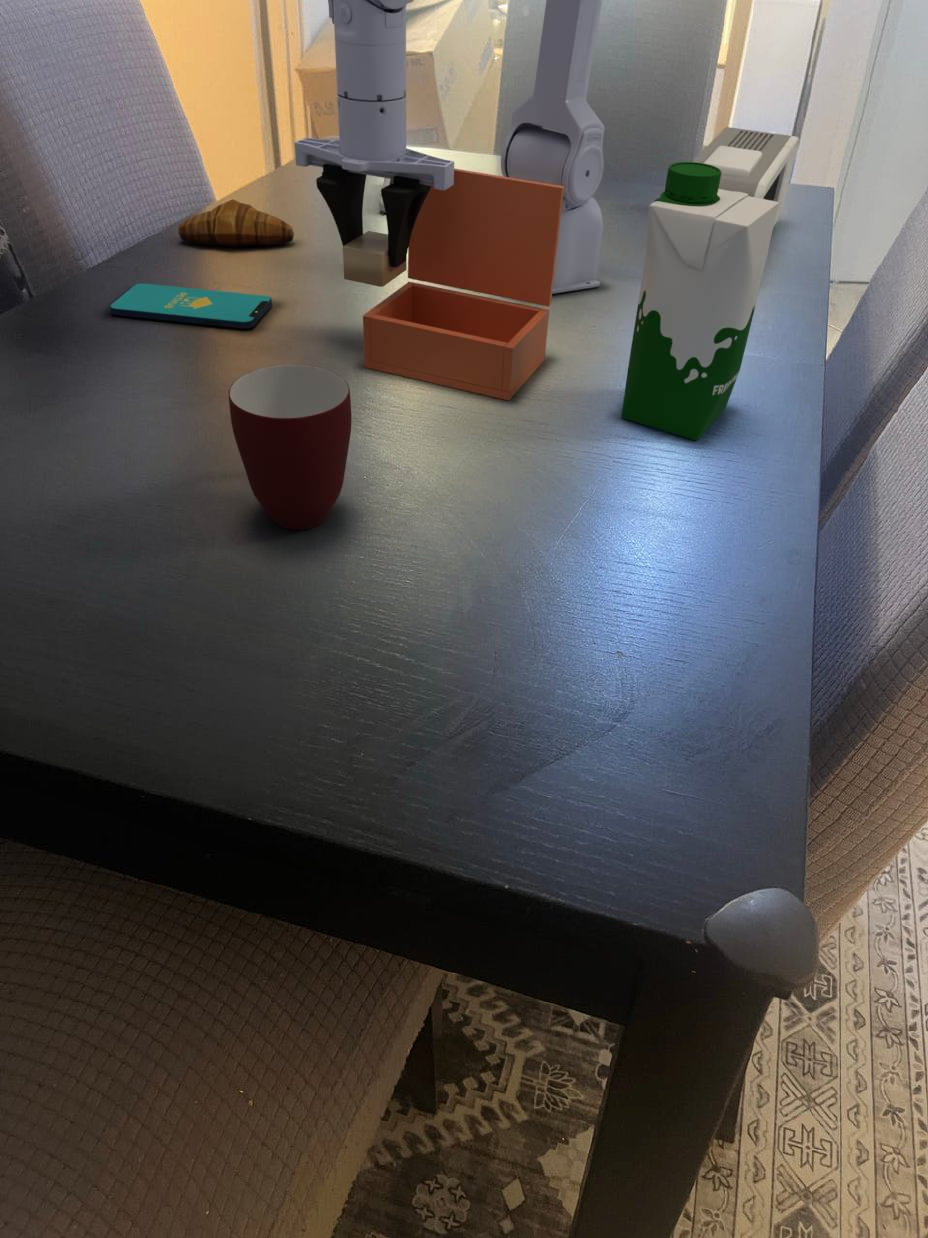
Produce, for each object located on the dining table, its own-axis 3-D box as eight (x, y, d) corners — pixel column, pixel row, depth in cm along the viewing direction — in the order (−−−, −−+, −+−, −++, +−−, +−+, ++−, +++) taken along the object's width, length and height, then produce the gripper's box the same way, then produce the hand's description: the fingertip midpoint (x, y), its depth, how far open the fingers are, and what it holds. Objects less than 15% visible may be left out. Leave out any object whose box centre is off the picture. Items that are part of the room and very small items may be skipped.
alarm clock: (741, 290, 108) (766, 179, 101) (661, 275, 111) (680, 165, 103) (779, 223, 128) (802, 125, 120) (710, 211, 130) (729, 116, 123)
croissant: (296, 234, 117) (293, 191, 114) (292, 253, 112) (289, 209, 108) (184, 232, 116) (178, 189, 113) (175, 251, 111) (168, 206, 107)
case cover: (562, 187, 82) (564, 185, 82) (409, 162, 86) (412, 161, 86) (549, 306, 88) (551, 304, 89) (407, 278, 92) (410, 276, 93)
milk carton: (646, 382, 89) (687, 151, 76) (739, 410, 86) (798, 172, 73) (606, 419, 83) (643, 175, 70) (704, 449, 80) (761, 199, 67)
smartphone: (137, 280, 101) (273, 294, 99) (138, 288, 101) (274, 302, 100) (106, 307, 95) (250, 322, 94) (108, 315, 96) (251, 330, 94)
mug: (251, 469, 74) (237, 348, 68) (355, 468, 75) (350, 348, 69) (238, 548, 66) (221, 419, 60) (355, 546, 67) (349, 418, 61)
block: (382, 287, 86) (381, 253, 84) (343, 279, 87) (342, 246, 85) (406, 269, 90) (406, 237, 88) (369, 262, 91) (368, 230, 89)
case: (508, 400, 85) (512, 347, 82) (364, 367, 89) (362, 315, 86) (544, 359, 92) (549, 309, 89) (408, 330, 96) (408, 280, 93)
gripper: (270, 91, 78) (284, 258, 87) (430, 115, 74) (427, 287, 83) (314, 76, 83) (323, 236, 92) (466, 98, 79) (460, 262, 88)
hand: (375, 259), depth 88 cm, fingers closed on block, 4 cm apart
